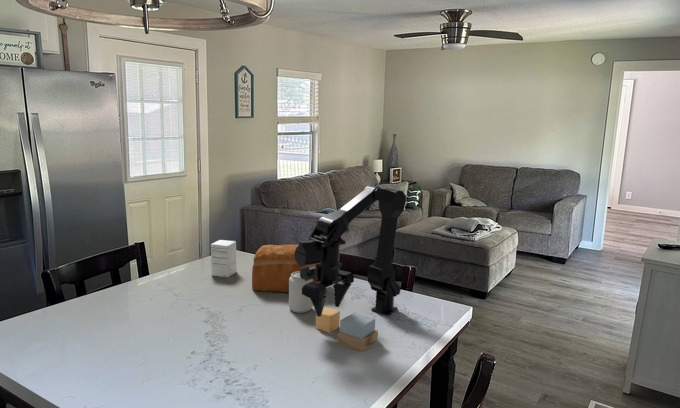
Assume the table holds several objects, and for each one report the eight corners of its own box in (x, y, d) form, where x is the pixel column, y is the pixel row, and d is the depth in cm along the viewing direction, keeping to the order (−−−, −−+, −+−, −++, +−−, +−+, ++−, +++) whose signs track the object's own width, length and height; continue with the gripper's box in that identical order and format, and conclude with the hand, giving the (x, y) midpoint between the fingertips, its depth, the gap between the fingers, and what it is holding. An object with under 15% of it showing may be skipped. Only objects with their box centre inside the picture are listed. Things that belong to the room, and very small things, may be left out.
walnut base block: (353, 334, 144) (353, 323, 143) (377, 342, 140) (377, 330, 139) (337, 344, 137) (338, 332, 137) (362, 352, 133) (362, 340, 132)
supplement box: (220, 270, 199) (219, 239, 196) (237, 272, 197) (236, 241, 195) (210, 275, 192) (210, 243, 189) (228, 277, 190) (227, 245, 187)
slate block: (353, 324, 143) (354, 312, 142) (374, 330, 139) (375, 318, 138) (339, 332, 137) (340, 320, 137) (361, 339, 133) (361, 326, 133)
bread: (258, 279, 189) (258, 239, 186) (327, 282, 187) (328, 242, 184) (249, 292, 175) (249, 249, 172) (323, 295, 174) (324, 252, 171)
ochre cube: (325, 322, 151) (325, 307, 150) (339, 327, 148) (339, 311, 147) (315, 328, 147) (315, 312, 146) (329, 332, 144) (329, 316, 143)
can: (308, 314, 156) (309, 278, 154) (285, 312, 158) (286, 276, 156) (314, 306, 164) (315, 271, 162) (292, 304, 165) (293, 269, 163)
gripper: (325, 248, 156) (324, 296, 159) (286, 262, 141) (286, 314, 144) (355, 255, 150) (354, 304, 153) (318, 270, 135) (317, 324, 137)
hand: (328, 311), depth 147 cm, fingers open, 9 cm apart
